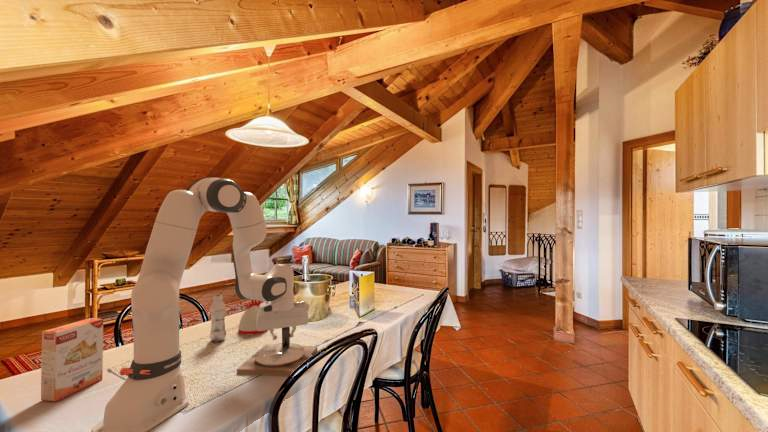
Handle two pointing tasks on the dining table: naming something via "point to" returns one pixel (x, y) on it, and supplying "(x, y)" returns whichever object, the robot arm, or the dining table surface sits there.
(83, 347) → the cracker box
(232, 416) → the dining table surface
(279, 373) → the dial base
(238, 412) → the dining table surface
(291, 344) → the dial
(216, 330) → the plastic bottle
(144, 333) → the robot arm
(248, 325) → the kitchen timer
